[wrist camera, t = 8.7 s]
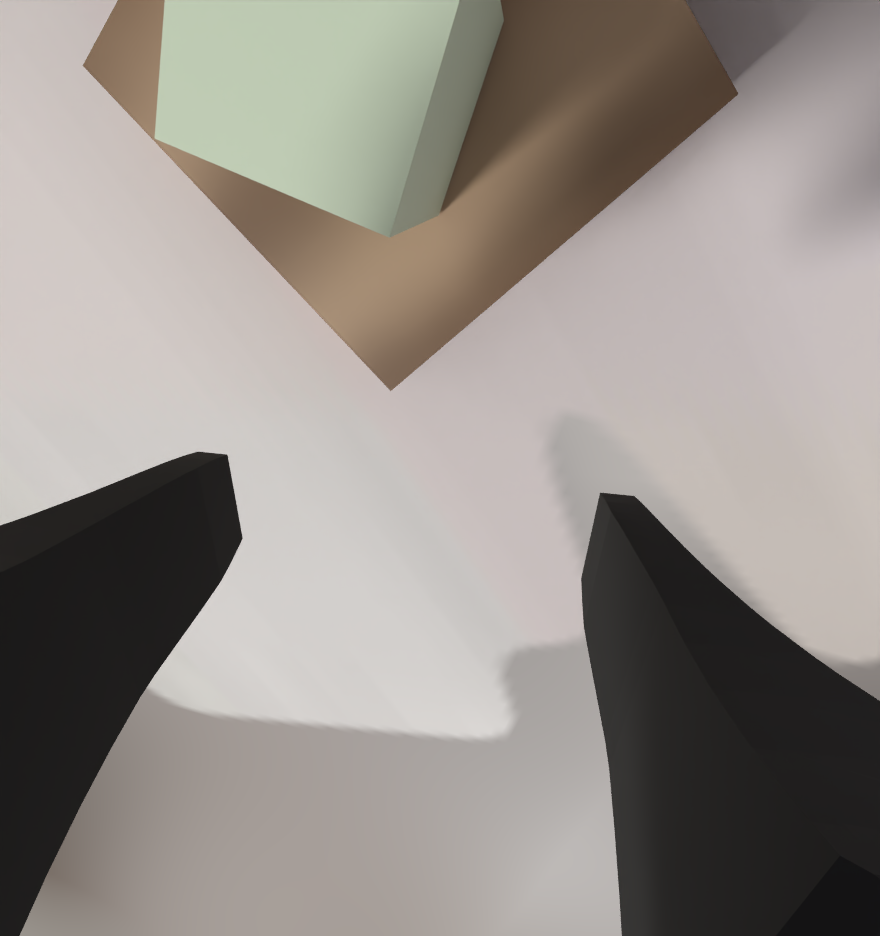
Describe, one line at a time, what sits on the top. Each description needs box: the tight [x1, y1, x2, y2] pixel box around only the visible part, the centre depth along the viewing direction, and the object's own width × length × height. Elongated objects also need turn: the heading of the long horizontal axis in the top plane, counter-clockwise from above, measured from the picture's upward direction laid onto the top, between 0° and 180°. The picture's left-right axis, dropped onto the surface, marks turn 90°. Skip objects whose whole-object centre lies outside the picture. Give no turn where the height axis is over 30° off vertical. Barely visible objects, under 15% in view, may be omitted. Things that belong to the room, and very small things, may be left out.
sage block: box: [155, 0, 504, 238], centre depth 11 cm, size 4×4×6 cm
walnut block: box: [83, 0, 738, 391], centre depth 15 cm, size 12×12×3 cm
